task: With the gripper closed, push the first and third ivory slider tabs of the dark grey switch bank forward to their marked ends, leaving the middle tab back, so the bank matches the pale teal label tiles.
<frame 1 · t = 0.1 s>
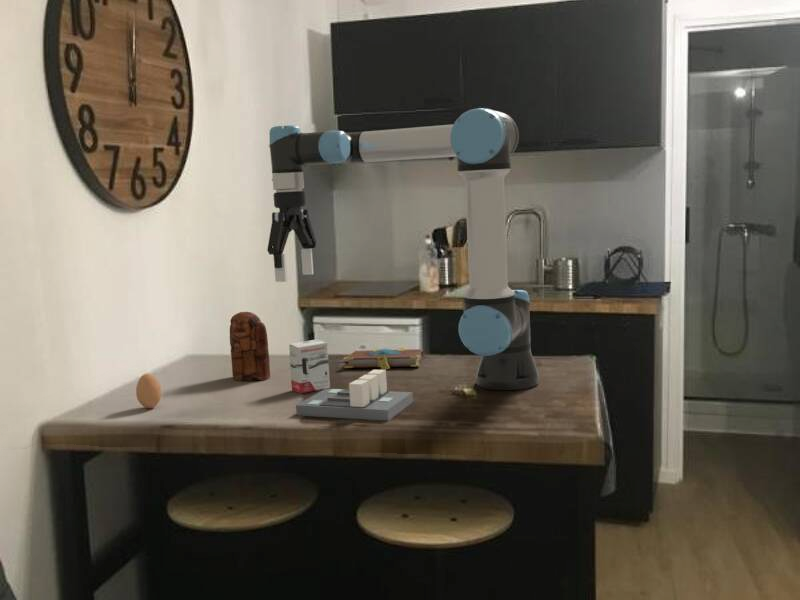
hand: (295, 278, 208), 28 cm above the table, fingers open, 13 cm apart
ink box: (311, 389, 211), on the table
tab b: (368, 387, 189), point 5 cm above the table, slide at -3.5 cm
book: (378, 366, 236), on the table
egg: (150, 408, 202), on the table
tab c: (359, 393, 184), point 5 cm above the table, slide at -3.5 cm
switch bank: (355, 408, 191), on the table
tab a: (377, 382, 193), point 5 cm above the table, slide at -3.5 cm
wooden figurine: (250, 379, 227), on the table
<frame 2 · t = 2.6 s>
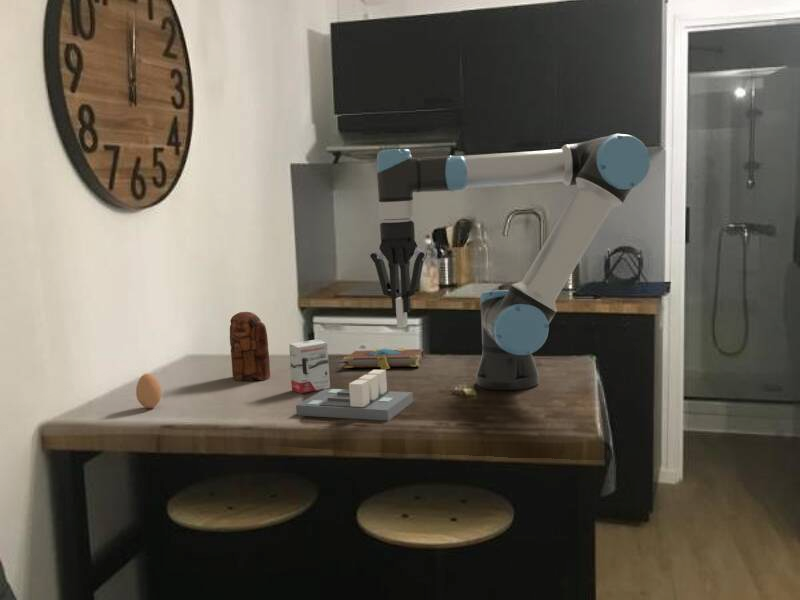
hand: (402, 326, 189), 18 cm above the table, fingers closed
nothing on the table moved.
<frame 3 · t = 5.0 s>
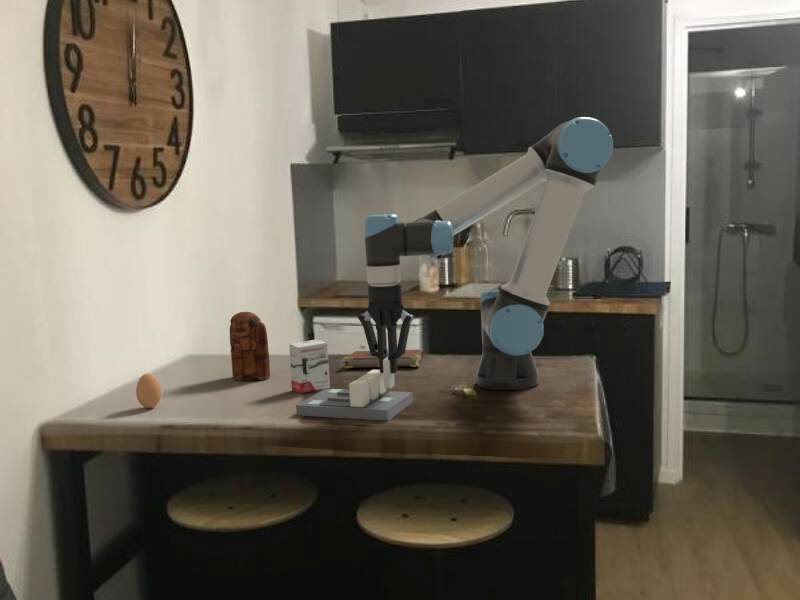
hand: (389, 386, 192), 4 cm above the table, fingers closed
tab a: (376, 382, 194), point 5 cm above the table, slide at -3.3 cm, touching gripper
everything else where it was.
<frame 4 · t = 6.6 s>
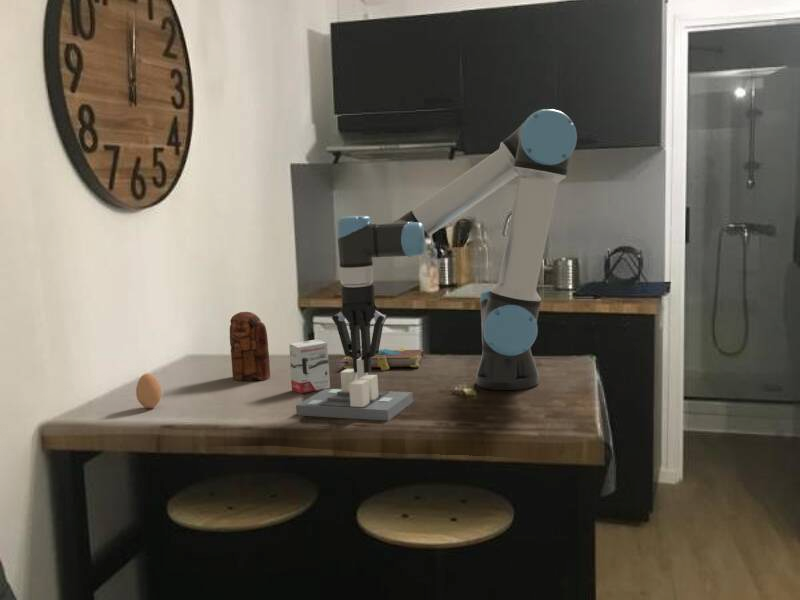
hand: (363, 386, 195), 4 cm above the table, fingers closed
tab a: (350, 381, 196), point 5 cm above the table, slide at 3.3 cm, touching gripper
everything else where it was.
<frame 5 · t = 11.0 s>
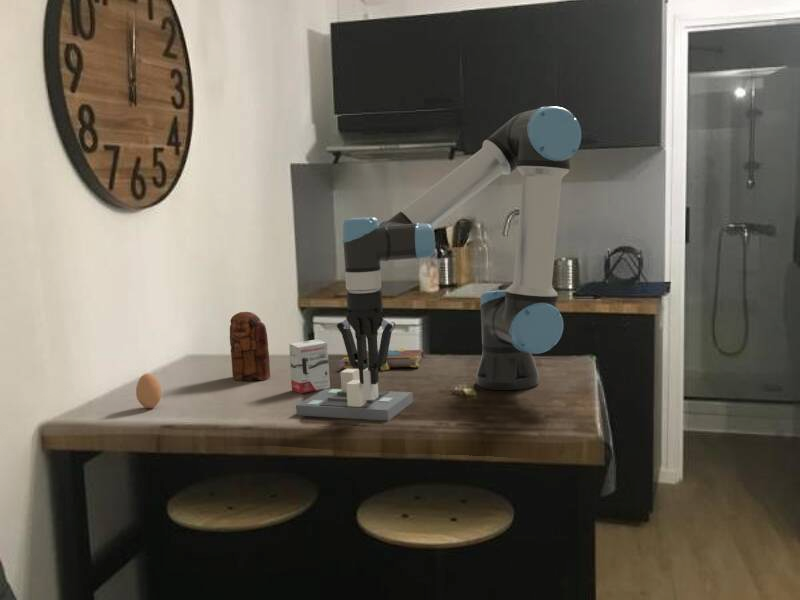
hand: (370, 398, 183), 4 cm above the table, fingers closed
tab c: (356, 393, 185), point 5 cm above the table, slide at -2.8 cm, touching gripper
tab a: (350, 381, 196), point 5 cm above the table, slide at 3.3 cm
everything else where it was.
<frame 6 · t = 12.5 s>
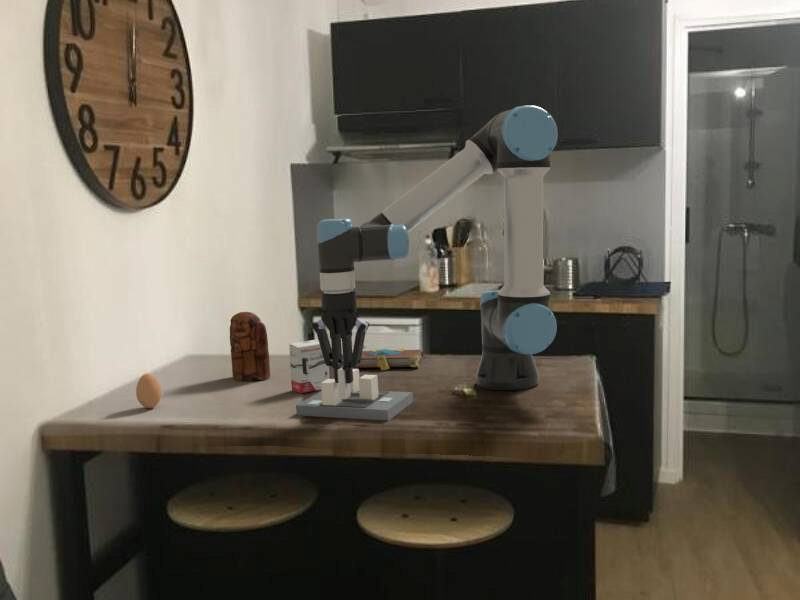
hand: (345, 397, 186), 4 cm above the table, fingers closed
tab c: (331, 392, 187), point 5 cm above the table, slide at 3.3 cm, touching gripper
everything else where it was.
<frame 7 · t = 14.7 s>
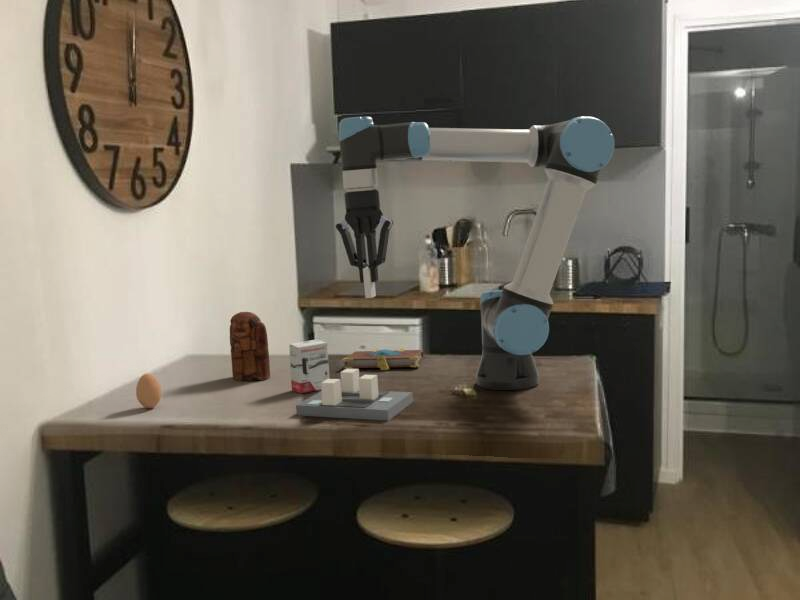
hand: (370, 296, 187), 25 cm above the table, fingers closed
tab c: (331, 392, 187), point 5 cm above the table, slide at 3.3 cm
everything else where it was.
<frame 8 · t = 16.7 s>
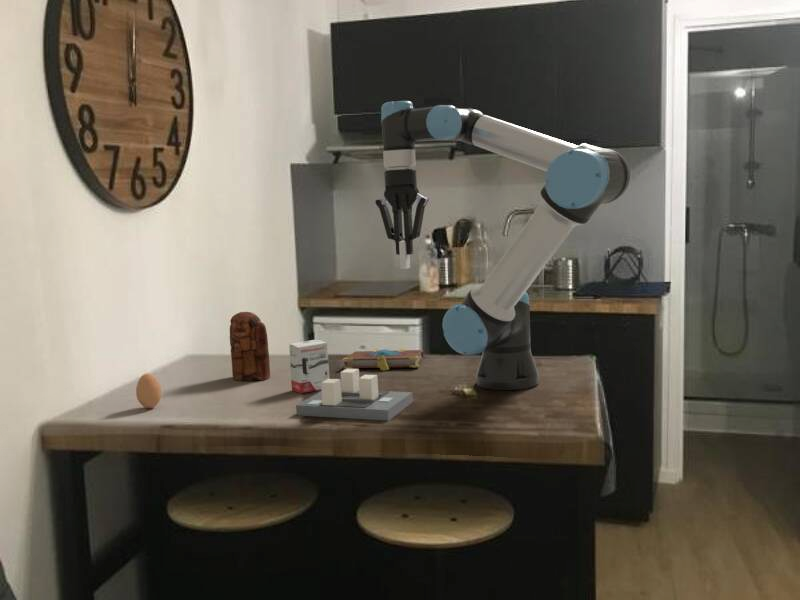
hand: (405, 268, 203), 29 cm above the table, fingers closed
nothing on the table moved.
at the end: tab a slide at 3.3 cm; tab c slide at 3.3 cm; tab b slide at -3.5 cm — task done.
